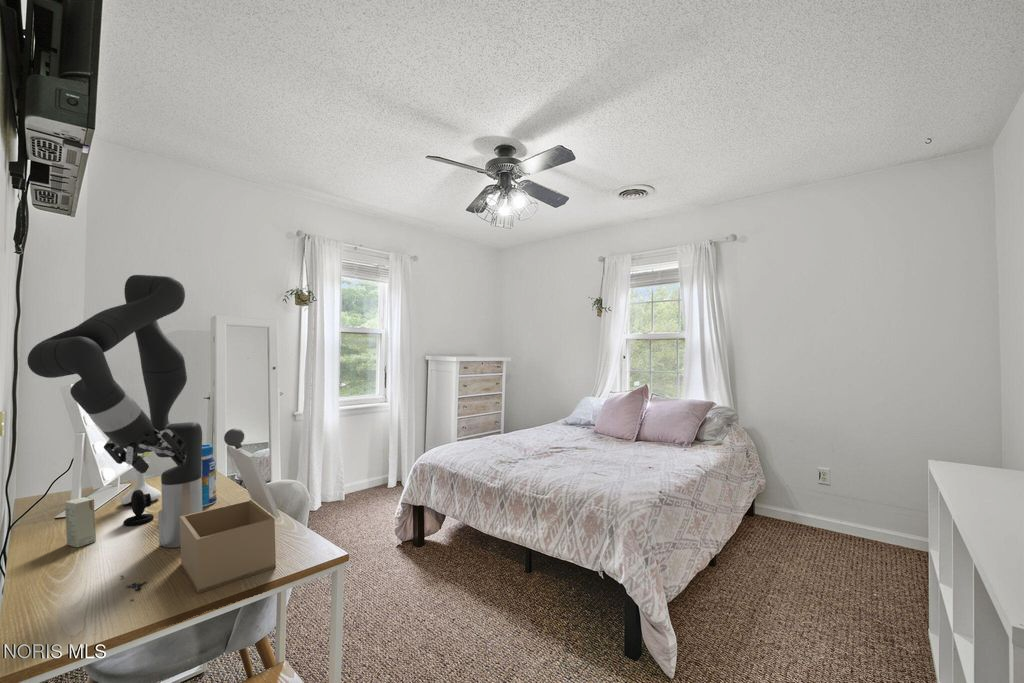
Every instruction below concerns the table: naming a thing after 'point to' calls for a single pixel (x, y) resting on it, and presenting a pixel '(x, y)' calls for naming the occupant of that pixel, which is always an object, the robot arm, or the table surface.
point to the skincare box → (80, 522)
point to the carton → (226, 544)
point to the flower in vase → (141, 486)
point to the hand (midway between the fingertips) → (164, 466)
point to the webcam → (138, 509)
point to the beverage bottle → (208, 476)
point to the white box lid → (250, 472)
